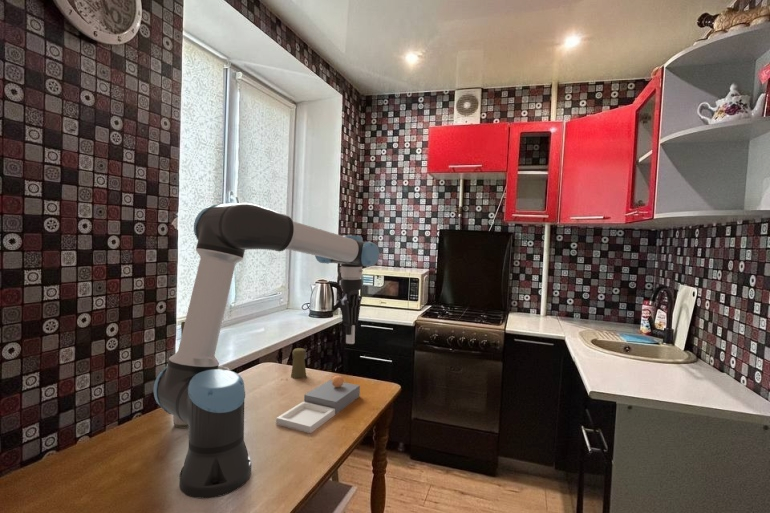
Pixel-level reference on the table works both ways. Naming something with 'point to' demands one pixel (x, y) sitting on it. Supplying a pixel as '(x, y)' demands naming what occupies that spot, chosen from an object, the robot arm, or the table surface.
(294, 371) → the cork
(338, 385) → the ball
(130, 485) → the table surface
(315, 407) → the tray
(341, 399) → the deck
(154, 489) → the table surface
